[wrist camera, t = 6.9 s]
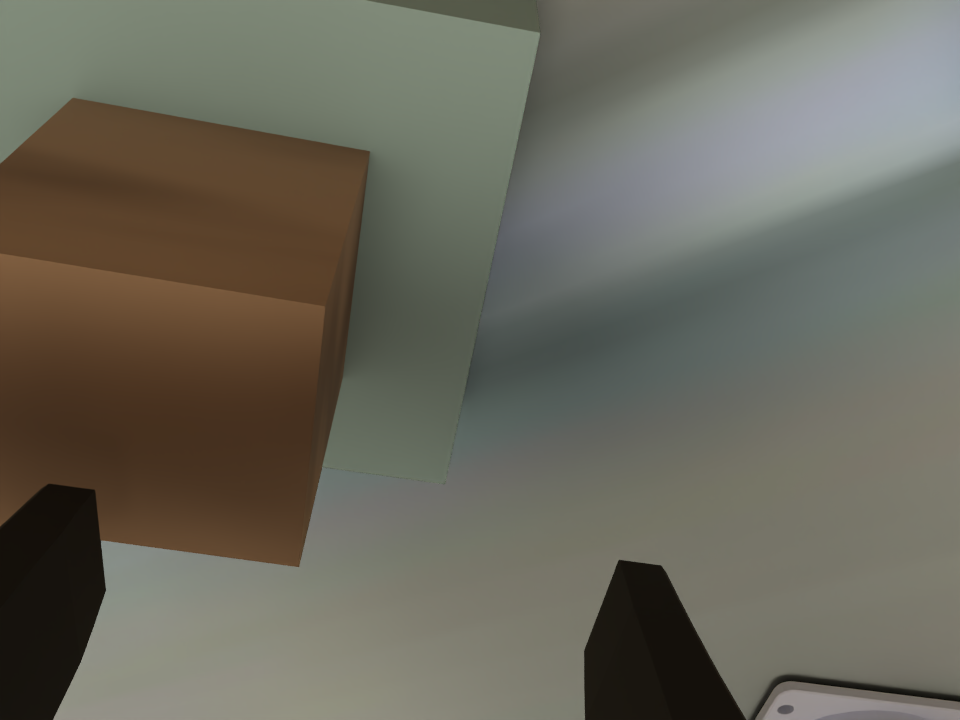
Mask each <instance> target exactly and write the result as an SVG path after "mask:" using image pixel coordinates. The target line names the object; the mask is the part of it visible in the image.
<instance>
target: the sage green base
mask: <svg viewBox="0 0 960 720" xmlns="http://www.w3.org/2000/svg"><path fill="white" fill-rule="evenodd" d="M539 38H540V26H539V18H538V11H537V3H536V0H0V163H2V162H3V161H4V160H5V159H6V158H7V157H8V156H9V155H10V154H11V153H13V152H14V151H15V150H16V149H17V148H18V147H19V146H20V145H21V144H22V143H24V142H25V141H26V140H27V139H28V138H29V137H30V136H31V135H32V134H33V133H35V132H36V131H37V130H38V129H39V128H40V127H41V126H42V125H43V124H44V123H46V122H47V121H48V120H49V119H50V118H51V117H52V116H53V115H54V114H55V113H57V112H58V111H59V110H60V109H61V108H62V107H63V106H64V105H65V104H66V103H68V102H69V101H70V100H71V99H72V98H77V99H83V100H89V101H94V102H100V103H105V104H111V105H116V106H122V107H127V108H133V109H138V110H144V111H150V112H155V113H161V114H166V115H172V116H177V117H183V118H188V119H194V120H200V121H205V122H211V123H216V124H222V125H227V126H233V127H238V128H244V129H249V130H255V131H261V132H266V133H272V134H277V135H283V136H288V137H294V138H299V139H305V140H311V141H316V142H322V143H327V144H333V145H338V146H344V147H349V148H355V149H361V150H366V151H370V156H369V165H368V173H367V181H366V189H365V198H364V206H363V214H362V223H361V231H360V239H359V247H358V256H357V264H356V272H355V280H354V289H353V297H352V305H351V313H350V322H349V330H348V338H347V346H346V355H345V363H344V371H343V379H342V383H341V388H340V392H339V396H338V401H337V405H336V409H335V414H334V418H333V422H332V427H331V431H330V435H329V440H328V444H327V448H326V452H325V457H324V461H323V465H322V467H325V468H332V469H339V470H346V471H353V472H360V473H368V474H375V475H382V476H389V477H396V478H403V479H410V480H418V481H425V482H432V483H439V484H445V482H446V477H447V472H448V468H449V463H450V458H451V454H452V449H453V444H454V439H455V435H456V430H457V425H458V420H459V416H460V411H461V406H462V402H463V397H464V392H465V387H466V383H467V378H468V373H469V369H470V364H471V359H472V354H473V350H474V345H475V340H476V335H477V331H478V326H479V321H480V317H481V312H482V307H483V302H484V298H485V293H486V288H487V283H488V279H489V274H490V269H491V265H492V260H493V255H494V250H495V246H496V241H497V236H498V231H499V227H500V222H501V217H502V213H503V208H504V203H505V198H506V194H507V189H508V184H509V179H510V175H511V170H512V165H513V161H514V156H515V151H516V146H517V142H518V137H519V132H520V127H521V123H522V118H523V113H524V109H525V104H526V99H527V94H528V90H529V85H530V80H531V76H532V71H533V66H534V61H535V57H536V52H537V47H538V42H539Z"/></svg>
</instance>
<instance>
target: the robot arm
mask: <svg viewBox="0 0 960 720" xmlns="http://www.w3.org/2000/svg"><path fill="white" fill-rule="evenodd" d="M105 591H106V587H105V578H104V568H103V559H102V549H101V540H100V531H99V521H98V512H97V502H96V493H95V490H94V489H86V488H79V487H71V486H64V485H56V484H47V485H46V486H44V487H43V488H41V489H40V490H39V491H38V492H37V493H36V494H35V495H33V496H32V497H31V498H30V499H29V500H28V501H27V502H26V503H25V504H24V505H23V506H22V507H21V508H20V509H18V510H17V511H16V512H15V513H14V514H13V515H12V516H11V517H10V518H9V519H8V520H7V521H6V522H4V523H3V524H2V525H1V526H0V720H53V718H54V716H55V714H56V712H57V710H58V708H59V706H60V704H61V702H62V700H63V698H64V696H65V694H66V692H67V690H68V688H69V685H70V683H71V681H72V679H73V677H74V675H75V673H76V671H77V669H78V667H79V665H80V662H81V660H82V657H83V654H84V652H85V649H86V646H87V643H88V641H89V638H90V635H91V632H92V630H93V627H94V624H95V621H96V618H97V615H98V612H99V609H100V606H101V603H102V600H103V597H104V594H105ZM584 687H585V720H746V719H745V717H744V715H743V714H742V712H741V710H740V708H739V707H738V705H737V703H736V702H735V700H734V698H733V696H732V695H731V693H730V691H729V690H728V688H727V686H726V684H725V683H724V681H723V679H722V678H721V676H720V674H719V672H718V671H717V669H716V667H715V665H714V663H713V662H712V660H711V658H710V656H709V654H708V653H707V651H706V649H705V647H704V645H703V643H702V641H701V639H700V638H699V636H698V634H697V632H696V630H695V628H694V626H693V624H692V622H691V621H690V619H689V617H688V615H687V613H686V611H685V609H684V607H683V605H682V603H681V601H680V599H679V597H678V595H677V593H676V591H675V589H674V587H673V585H672V583H671V581H670V579H669V577H668V575H667V573H666V572H665V570H664V569H663V567H662V566H660V565H653V564H646V563H638V562H631V561H623V560H619V561H618V564H617V566H616V569H615V572H614V574H613V577H612V579H611V582H610V585H609V587H608V590H607V592H606V595H605V598H604V600H603V603H602V606H601V608H600V611H599V613H598V616H597V619H596V621H595V624H594V626H593V629H592V632H591V634H590V637H589V640H588V642H587V645H586V647H585V650H584ZM755 720H960V702H956V701H948V700H940V699H932V698H924V697H916V696H908V695H900V694H892V693H884V692H876V691H868V690H860V689H852V688H843V687H835V686H827V685H819V684H811V683H803V682H795V681H787V682H783V683H780V684H779V685H777V686H776V687H775V688H774V689H773V691H772V693H771V694H770V696H769V698H768V699H767V701H766V702H765V704H764V706H763V707H762V709H761V711H760V712H759V714H758V715H757V717H756V719H755Z"/></svg>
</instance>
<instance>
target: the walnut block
mask: <svg viewBox="0 0 960 720" xmlns="http://www.w3.org/2000/svg"><path fill="white" fill-rule="evenodd" d="M369 156H370V151H366V150H361V149H355V148H349V147H344V146H338V145H333V144H327V143H322V142H316V141H311V140H305V139H299V138H294V137H288V136H283V135H277V134H272V133H266V132H261V131H255V130H249V129H244V128H238V127H233V126H227V125H222V124H216V123H211V122H205V121H200V120H194V119H188V118H183V117H177V116H172V115H166V114H161V113H155V112H150V111H144V110H138V109H133V108H127V107H122V106H116V105H111V104H105V103H100V102H94V101H89V100H83V99H77V98H72V99H71V100H70V101H69V102H68V103H66V104H65V105H64V106H63V107H62V108H61V109H60V110H59V111H58V112H57V113H55V114H54V115H53V116H52V117H51V118H50V119H49V120H48V121H47V122H46V123H44V124H43V125H42V126H41V127H40V128H39V129H38V130H37V131H36V132H35V133H33V134H32V135H31V136H30V137H29V138H28V139H27V140H26V141H25V142H24V143H22V144H21V145H20V146H19V147H18V148H17V149H16V150H15V151H14V152H13V153H11V154H10V155H9V156H8V157H7V158H6V159H5V160H4V161H3V162H2V163H0V526H1V525H2V524H3V523H4V522H6V521H7V520H8V519H9V518H10V517H11V516H12V515H13V514H14V513H15V512H16V511H17V510H18V509H20V508H21V507H22V506H23V505H24V504H25V503H26V502H27V501H28V500H29V499H30V498H31V497H32V496H33V495H35V494H36V493H37V492H38V491H39V490H40V489H41V488H43V487H44V486H46V485H47V484H56V485H64V486H71V487H79V488H86V489H94V490H95V493H96V502H97V512H98V521H99V531H100V540H103V541H111V542H118V543H126V544H133V545H140V546H148V547H155V548H163V549H170V550H177V551H185V552H192V553H200V554H207V555H214V556H222V557H229V558H236V559H244V560H251V561H259V562H266V563H273V564H281V565H288V566H296V567H299V565H300V560H301V556H302V552H303V547H304V543H305V539H306V534H307V530H308V526H309V522H310V517H311V513H312V509H313V504H314V500H315V496H316V491H317V487H318V483H319V478H320V474H321V470H322V465H323V461H324V457H325V452H326V448H327V444H328V440H329V435H330V431H331V427H332V422H333V418H334V414H335V409H336V405H337V401H338V396H339V392H340V388H341V383H342V379H343V371H344V363H345V355H346V346H347V338H348V330H349V322H350V313H351V305H352V297H353V289H354V280H355V272H356V264H357V256H358V247H359V239H360V231H361V223H362V214H363V206H364V198H365V189H366V181H367V173H368V165H369Z"/></svg>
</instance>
